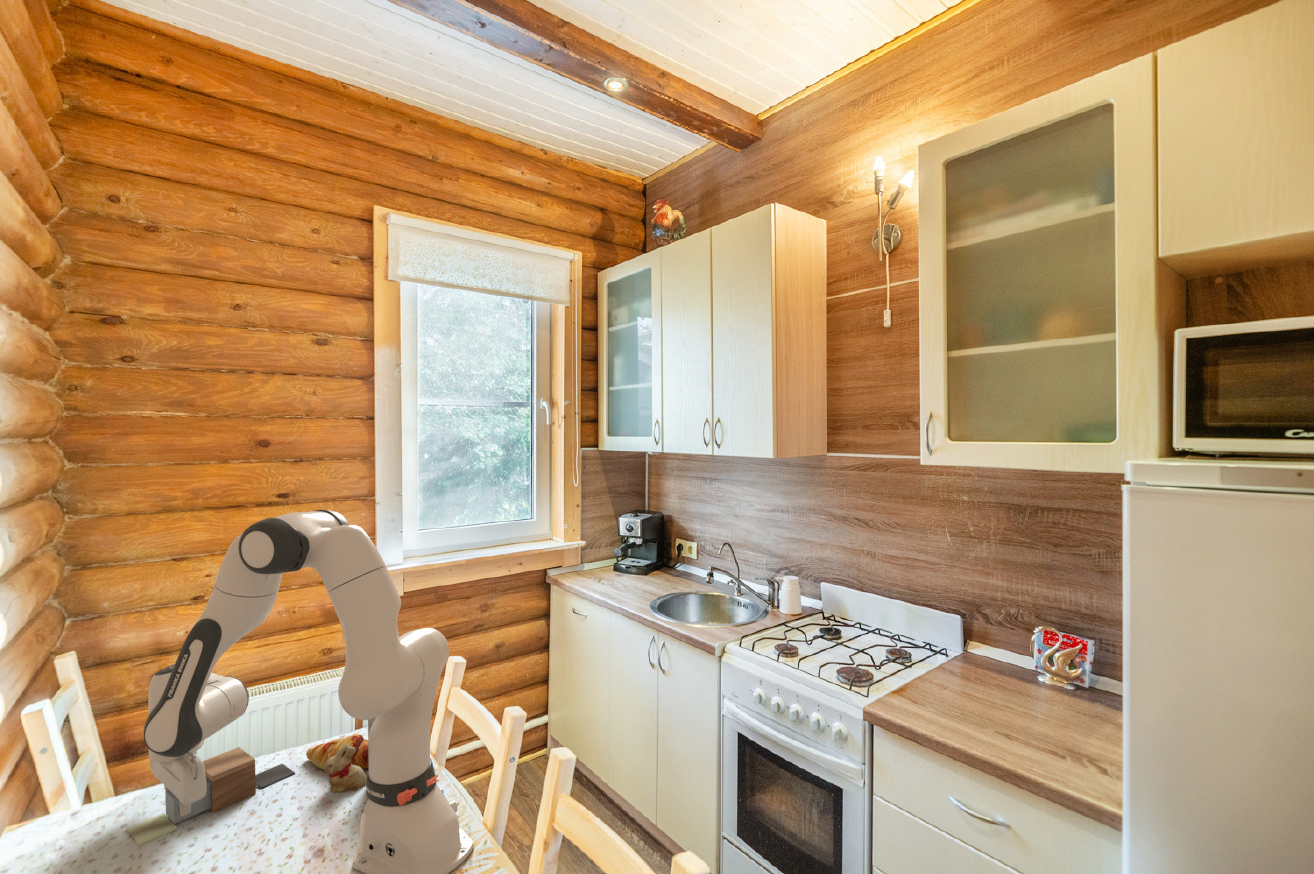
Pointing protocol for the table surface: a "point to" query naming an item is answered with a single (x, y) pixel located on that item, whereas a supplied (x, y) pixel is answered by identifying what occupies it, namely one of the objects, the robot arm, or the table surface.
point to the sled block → (196, 807)
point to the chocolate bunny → (344, 771)
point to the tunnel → (217, 790)
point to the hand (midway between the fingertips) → (178, 807)
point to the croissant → (331, 748)
